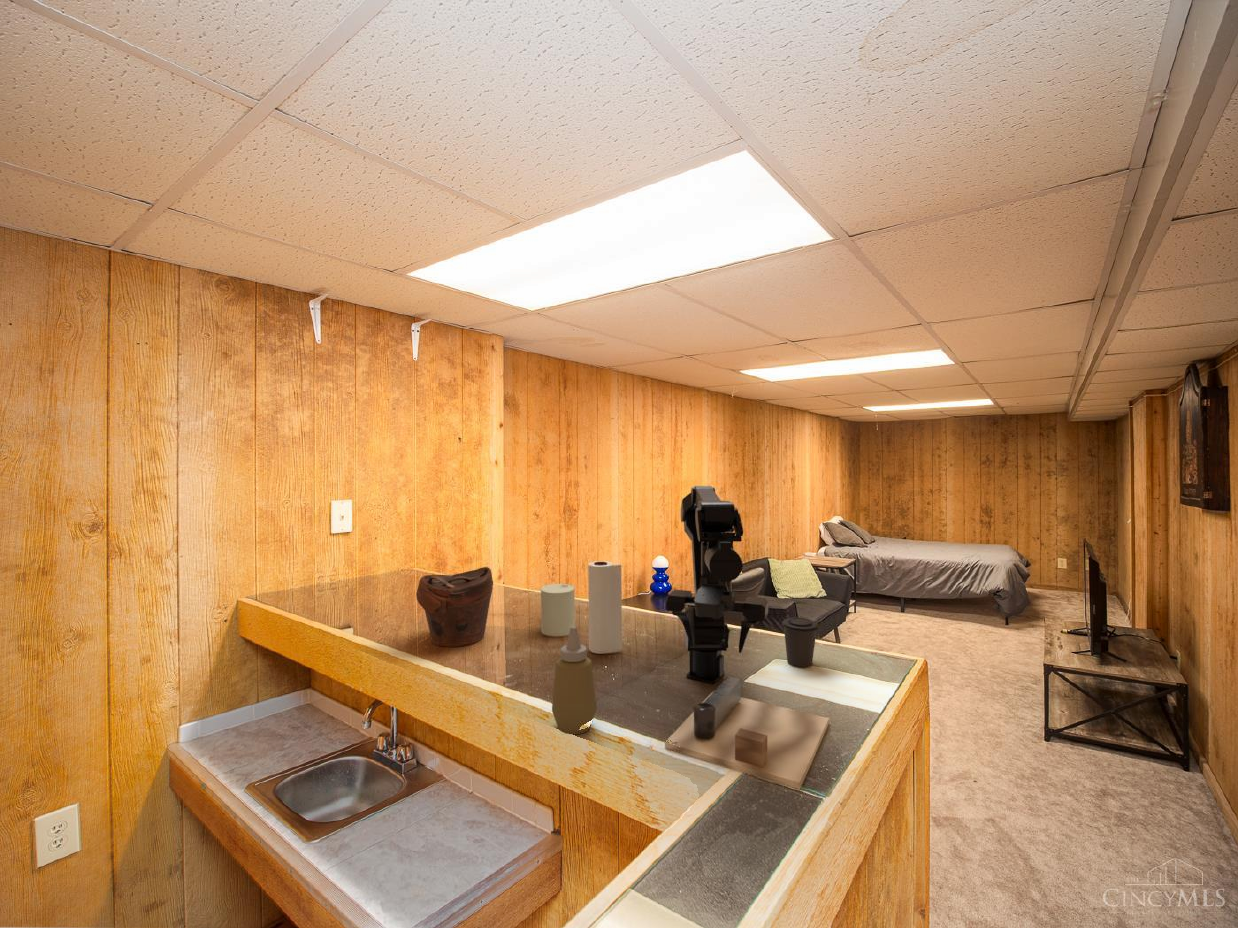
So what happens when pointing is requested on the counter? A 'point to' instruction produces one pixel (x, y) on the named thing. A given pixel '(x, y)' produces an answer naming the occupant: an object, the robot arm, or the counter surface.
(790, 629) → the coffee cup
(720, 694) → the swing bar
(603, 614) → the paper towel roll
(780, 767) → the tan flat square sheet
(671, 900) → the counter surface
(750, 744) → the block
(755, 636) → the counter surface
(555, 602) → the can
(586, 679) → the squeeze bottle
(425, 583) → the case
